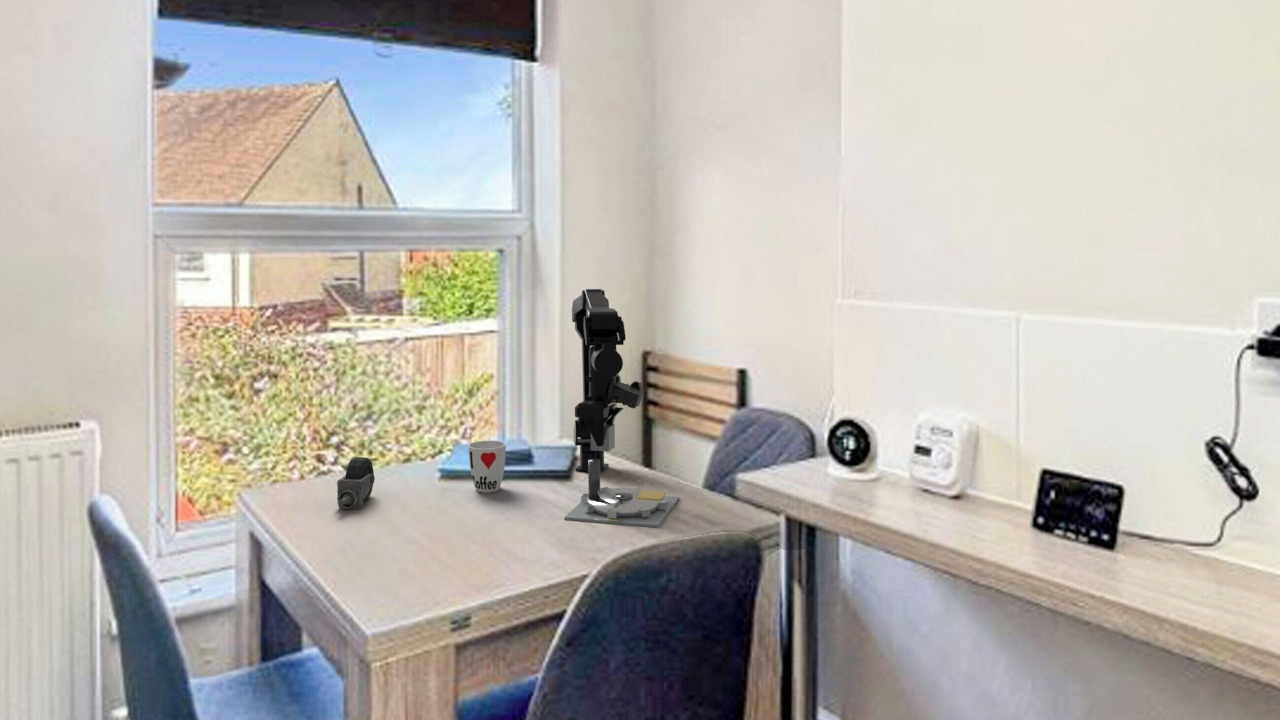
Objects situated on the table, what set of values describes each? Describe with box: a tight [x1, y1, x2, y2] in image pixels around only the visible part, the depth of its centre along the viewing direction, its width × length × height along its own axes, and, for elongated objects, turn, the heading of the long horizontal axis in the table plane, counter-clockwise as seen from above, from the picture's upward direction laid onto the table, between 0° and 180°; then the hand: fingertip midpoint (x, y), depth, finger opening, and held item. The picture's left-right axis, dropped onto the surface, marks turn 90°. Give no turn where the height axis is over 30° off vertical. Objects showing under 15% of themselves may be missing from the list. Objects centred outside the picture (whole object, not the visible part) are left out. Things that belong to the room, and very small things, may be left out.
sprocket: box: [580, 459, 667, 519], centre depth 184 cm, size 18×18×10 cm
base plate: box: [564, 495, 680, 529], centre depth 184 cm, size 19×19×1 cm
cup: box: [467, 440, 507, 493], centre depth 197 cm, size 8×8×10 cm
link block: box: [591, 423, 616, 452], centre depth 191 cm, size 4×4×5 cm
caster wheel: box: [336, 456, 376, 510], centre depth 187 cm, size 6×10×15 cm
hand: (603, 444), depth 191 cm, fingers closed on link block, 4 cm apart
